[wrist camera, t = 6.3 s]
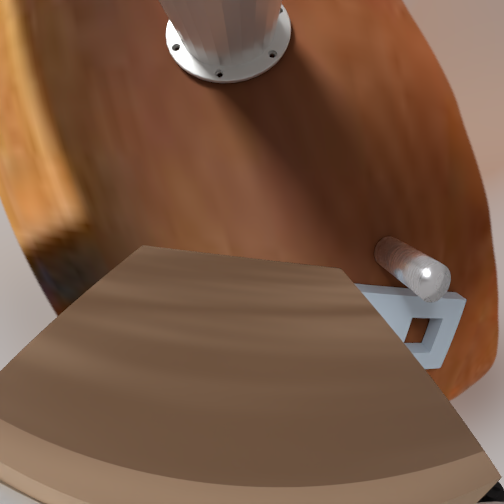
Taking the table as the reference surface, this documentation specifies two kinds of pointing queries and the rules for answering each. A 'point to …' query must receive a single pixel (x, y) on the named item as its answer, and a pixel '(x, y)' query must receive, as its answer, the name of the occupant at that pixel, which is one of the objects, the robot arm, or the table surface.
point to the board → (412, 306)
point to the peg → (413, 268)
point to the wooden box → (230, 394)
